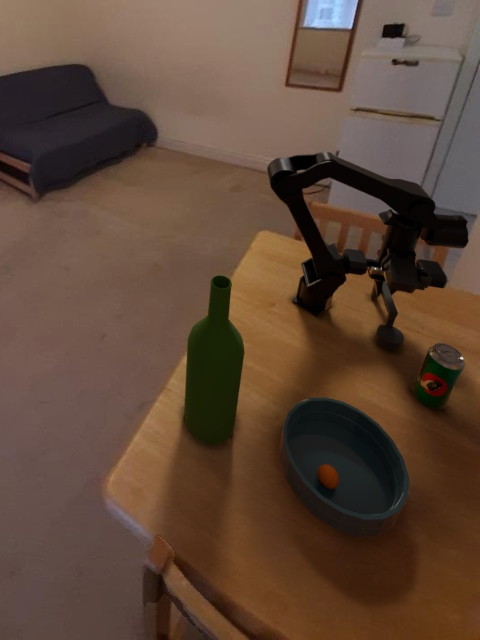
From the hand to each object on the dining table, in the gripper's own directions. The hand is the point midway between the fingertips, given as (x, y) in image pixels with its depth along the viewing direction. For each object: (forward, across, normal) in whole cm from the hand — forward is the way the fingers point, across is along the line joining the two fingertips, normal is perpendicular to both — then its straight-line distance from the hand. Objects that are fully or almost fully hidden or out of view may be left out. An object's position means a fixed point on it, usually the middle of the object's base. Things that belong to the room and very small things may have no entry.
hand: (382, 296), depth 91 cm
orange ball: (+2, -16, -41) cm, 44 cm away
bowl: (+5, -14, -38) cm, 41 cm away
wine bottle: (+5, -34, -36) cm, 50 cm away
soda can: (+5, +4, -20) cm, 21 cm away
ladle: (+4, 0, -3) cm, 6 cm away
